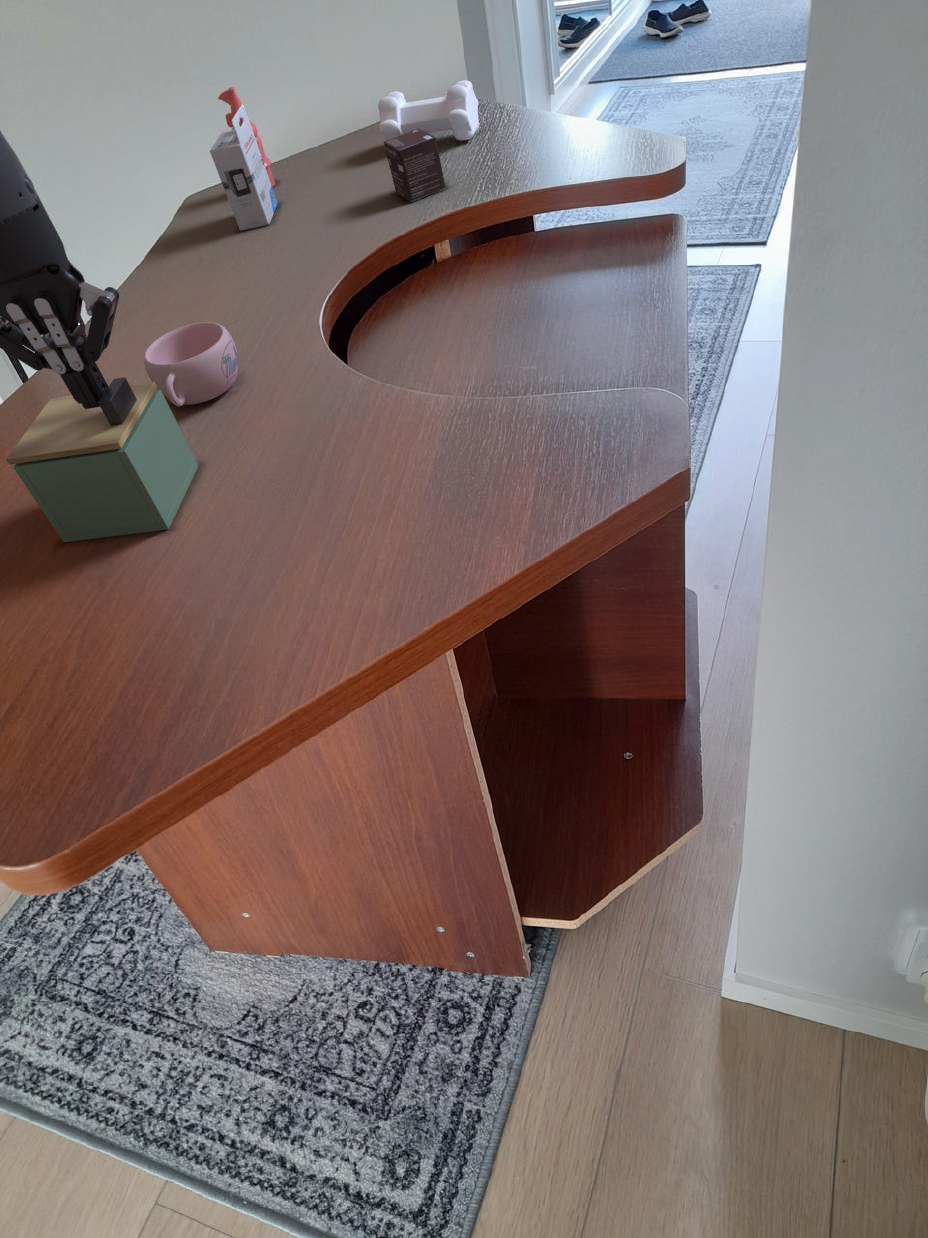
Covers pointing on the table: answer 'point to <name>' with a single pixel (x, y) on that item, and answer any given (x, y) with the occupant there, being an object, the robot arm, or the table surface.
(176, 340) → the mug
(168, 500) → the case
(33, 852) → the table surface
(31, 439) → the slide door
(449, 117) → the dog bone
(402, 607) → the table surface
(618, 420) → the table surface
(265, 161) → the figurine
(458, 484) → the table surface
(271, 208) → the ink box
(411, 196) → the box
